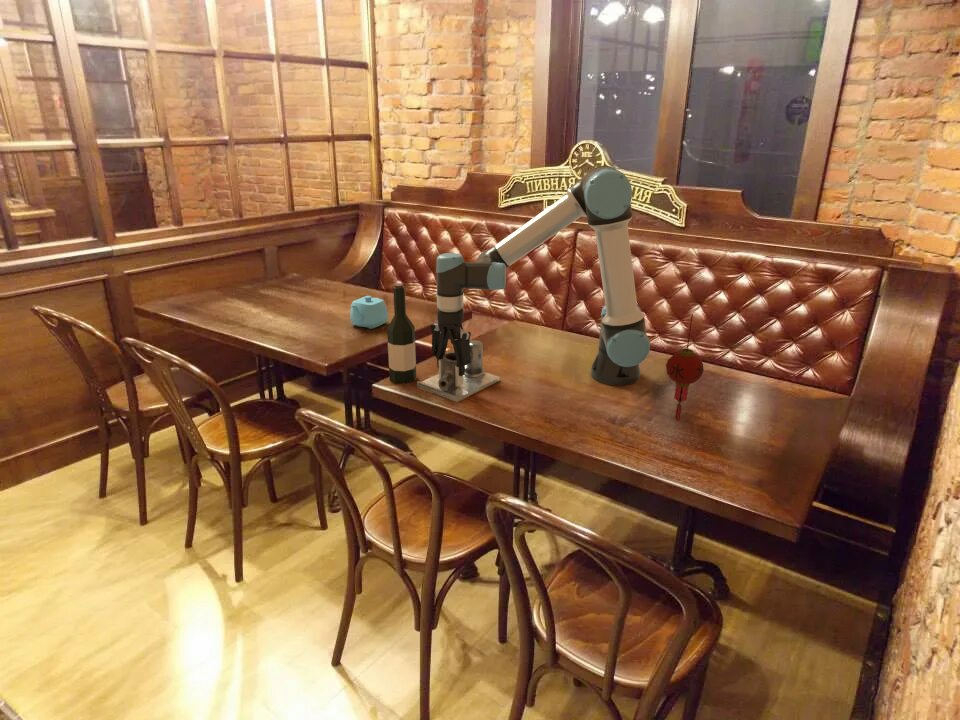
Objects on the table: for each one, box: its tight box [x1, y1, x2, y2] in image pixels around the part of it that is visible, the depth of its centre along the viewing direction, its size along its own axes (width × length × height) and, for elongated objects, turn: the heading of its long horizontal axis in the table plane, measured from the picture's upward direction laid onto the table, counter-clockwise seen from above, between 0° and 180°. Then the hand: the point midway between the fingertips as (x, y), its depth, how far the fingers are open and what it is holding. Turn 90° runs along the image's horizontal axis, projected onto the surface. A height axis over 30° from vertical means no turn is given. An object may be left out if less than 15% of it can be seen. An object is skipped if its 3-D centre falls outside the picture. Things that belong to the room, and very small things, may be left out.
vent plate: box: [416, 339, 501, 403], centre depth 187 cm, size 16×21×11 cm
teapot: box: [349, 295, 389, 330], centre depth 237 cm, size 12×18×12 cm
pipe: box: [438, 351, 458, 390], centre depth 183 cm, size 6×13×8 cm, turn 166°
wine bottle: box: [386, 283, 417, 385], centre depth 186 cm, size 8×8×30 cm
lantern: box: [665, 313, 705, 421], centre depth 162 cm, size 10×10×30 cm
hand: (451, 381), depth 185 cm, fingers closed on pipe, 6 cm apart
